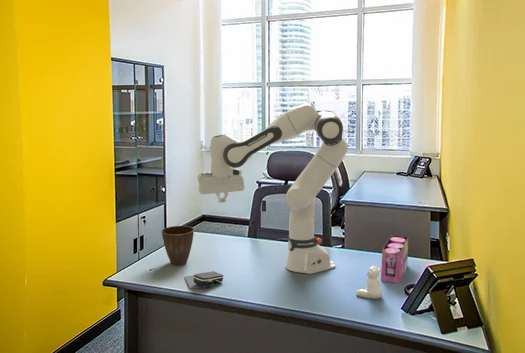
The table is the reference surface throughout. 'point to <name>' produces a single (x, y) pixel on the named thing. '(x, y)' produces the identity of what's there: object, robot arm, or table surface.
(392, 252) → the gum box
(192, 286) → the mat
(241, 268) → the table surface
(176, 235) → the plant pot
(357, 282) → the table surface
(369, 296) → the white creature statuette
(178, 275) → the table surface
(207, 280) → the battery charger
